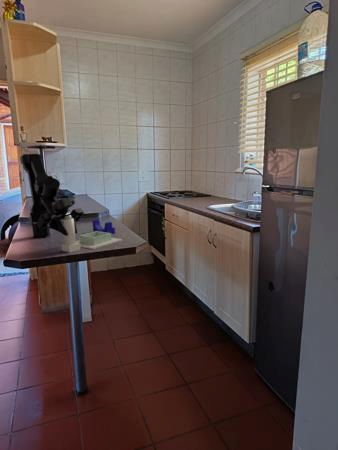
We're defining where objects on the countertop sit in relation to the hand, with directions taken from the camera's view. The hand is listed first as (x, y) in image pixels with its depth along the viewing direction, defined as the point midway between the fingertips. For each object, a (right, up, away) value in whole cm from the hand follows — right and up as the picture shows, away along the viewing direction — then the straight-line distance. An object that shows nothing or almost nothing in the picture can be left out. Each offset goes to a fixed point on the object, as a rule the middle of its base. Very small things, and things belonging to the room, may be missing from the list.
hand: (72, 234), depth 119 cm
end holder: (+6, -4, +13) cm, 15 cm away
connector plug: (-1, -6, +2) cm, 7 cm away
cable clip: (+6, -1, +32) cm, 32 cm away
